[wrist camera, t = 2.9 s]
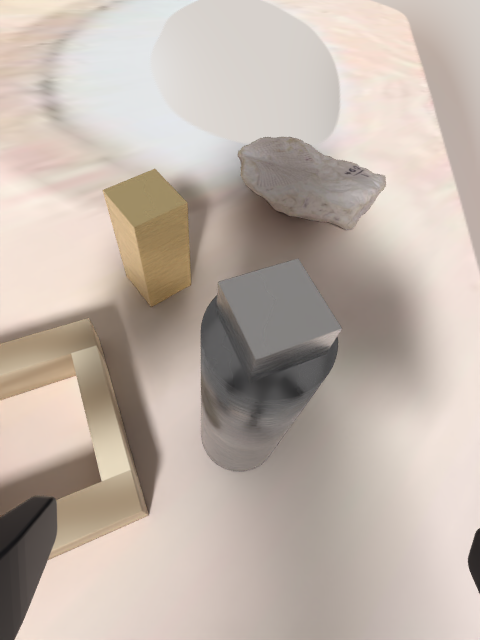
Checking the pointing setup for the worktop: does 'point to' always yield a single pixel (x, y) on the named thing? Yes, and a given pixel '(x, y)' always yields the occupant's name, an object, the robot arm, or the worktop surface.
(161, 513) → the worktop surface
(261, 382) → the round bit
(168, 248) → the square bit
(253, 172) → the fossil
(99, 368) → the block
